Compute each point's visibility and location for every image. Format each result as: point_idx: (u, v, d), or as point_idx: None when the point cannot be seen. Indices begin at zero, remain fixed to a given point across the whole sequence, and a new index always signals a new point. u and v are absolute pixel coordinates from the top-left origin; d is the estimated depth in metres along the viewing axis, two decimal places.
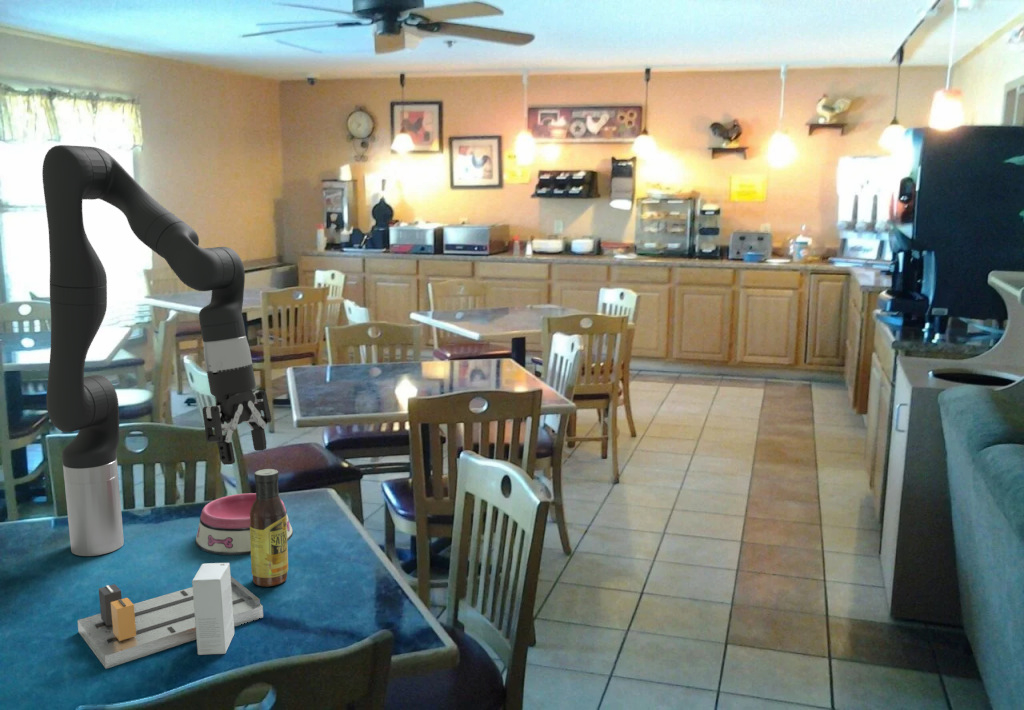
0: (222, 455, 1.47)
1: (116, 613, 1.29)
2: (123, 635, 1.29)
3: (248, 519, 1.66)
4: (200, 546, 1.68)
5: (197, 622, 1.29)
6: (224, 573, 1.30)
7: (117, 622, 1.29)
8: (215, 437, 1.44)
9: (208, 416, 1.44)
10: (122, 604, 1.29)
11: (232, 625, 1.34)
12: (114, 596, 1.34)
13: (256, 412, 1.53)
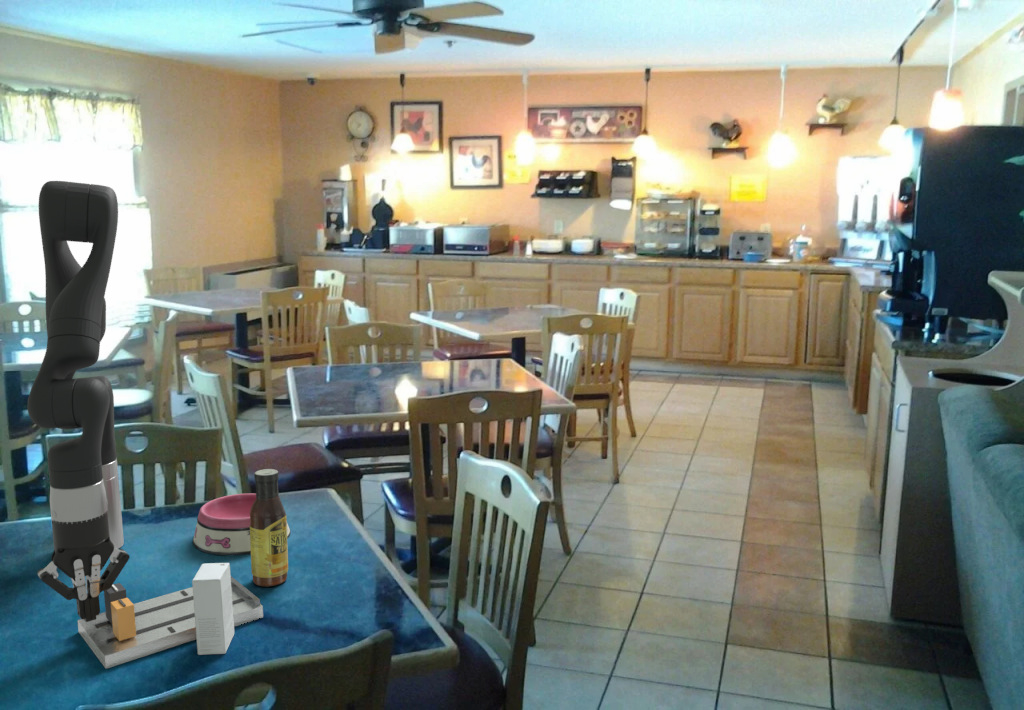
0: (78, 610, 1.32)
1: (116, 613, 1.29)
2: (123, 635, 1.29)
3: (246, 519, 1.66)
4: (197, 546, 1.68)
5: (197, 622, 1.29)
6: (224, 573, 1.30)
7: (117, 622, 1.29)
8: None
9: None
10: (122, 604, 1.29)
11: (232, 625, 1.34)
12: (119, 595, 1.34)
13: (97, 573, 1.31)
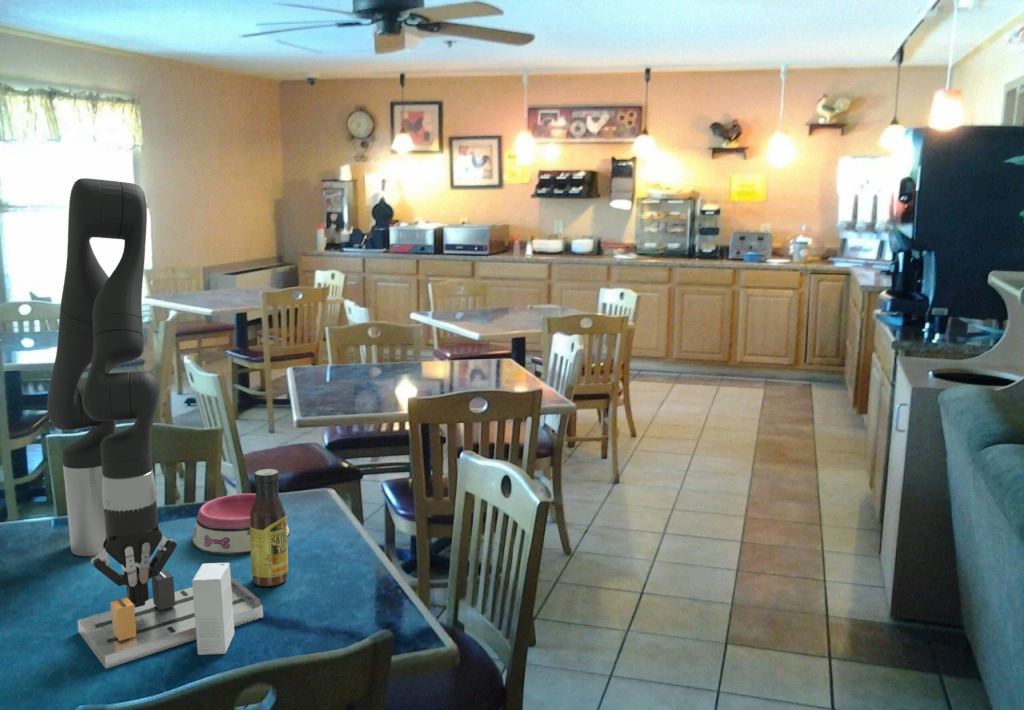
0: (128, 596, 1.37)
1: (116, 613, 1.29)
2: (123, 635, 1.29)
3: (245, 519, 1.66)
4: (197, 546, 1.68)
5: (197, 622, 1.29)
6: (224, 573, 1.30)
7: (117, 622, 1.29)
8: None
9: None
10: (122, 604, 1.29)
11: (232, 625, 1.34)
12: (166, 581, 1.39)
13: (146, 560, 1.36)
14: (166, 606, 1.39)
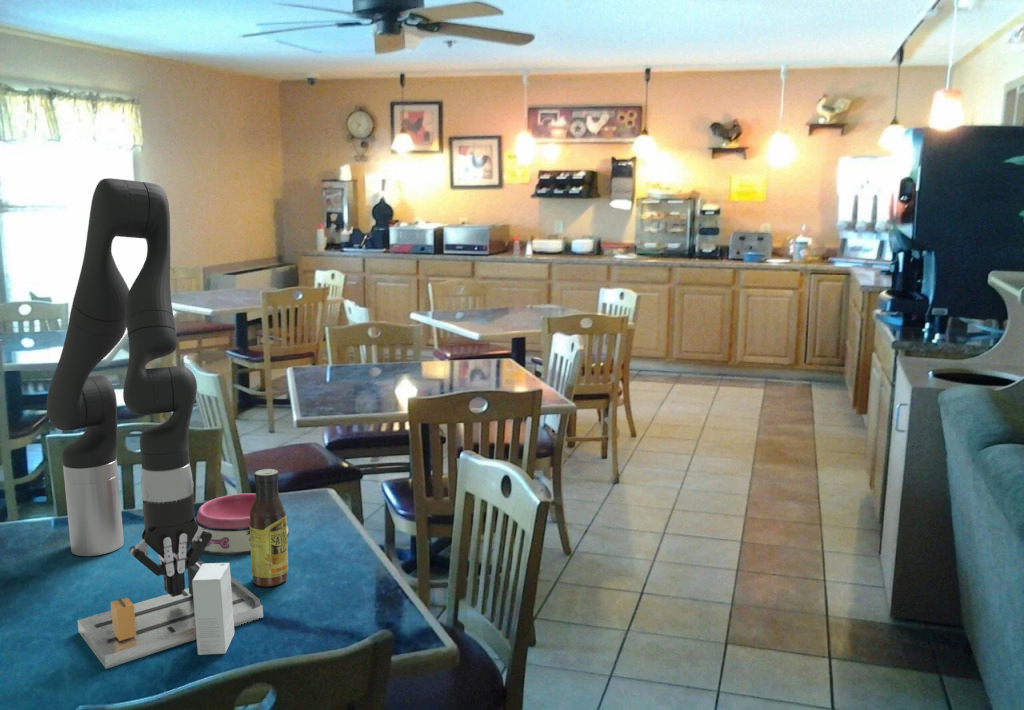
0: (165, 586, 1.40)
1: (116, 613, 1.29)
2: (123, 635, 1.29)
3: (244, 519, 1.66)
4: None
5: (197, 622, 1.29)
6: (224, 573, 1.30)
7: (117, 622, 1.29)
8: None
9: None
10: (122, 604, 1.29)
11: (232, 625, 1.34)
12: None
13: (184, 551, 1.40)
14: None
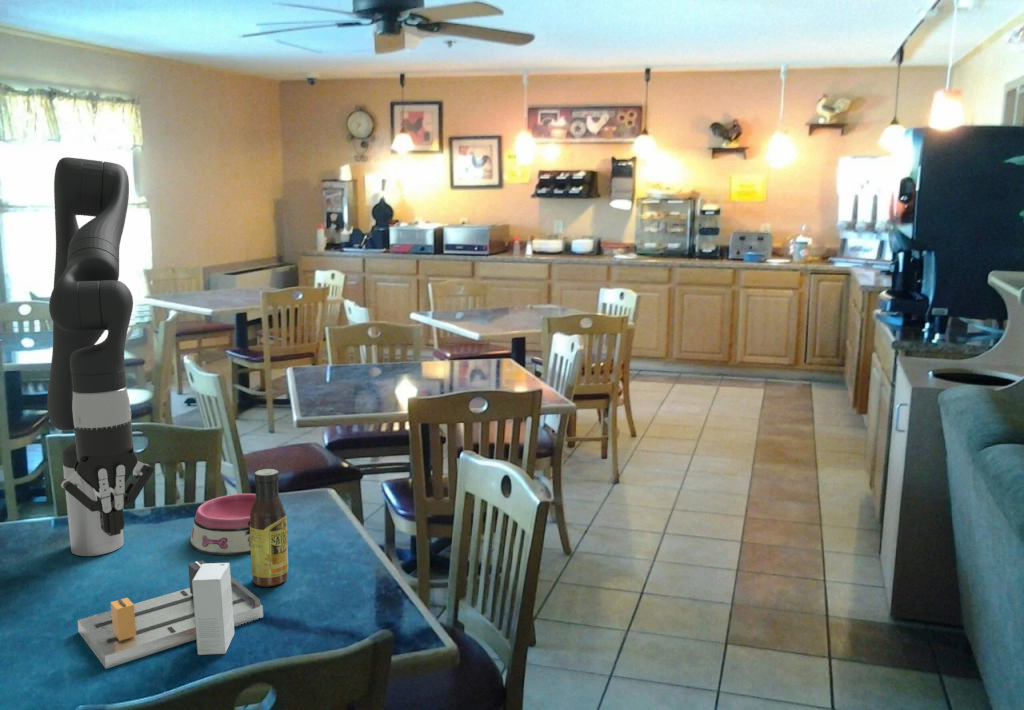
0: (102, 524, 1.28)
1: (116, 613, 1.29)
2: (123, 635, 1.29)
3: (243, 519, 1.66)
4: (194, 547, 1.68)
5: (197, 622, 1.29)
6: (224, 573, 1.30)
7: (117, 622, 1.29)
8: None
9: (68, 492, 1.24)
10: (122, 604, 1.29)
11: (232, 625, 1.34)
12: None
13: (121, 484, 1.27)
14: None
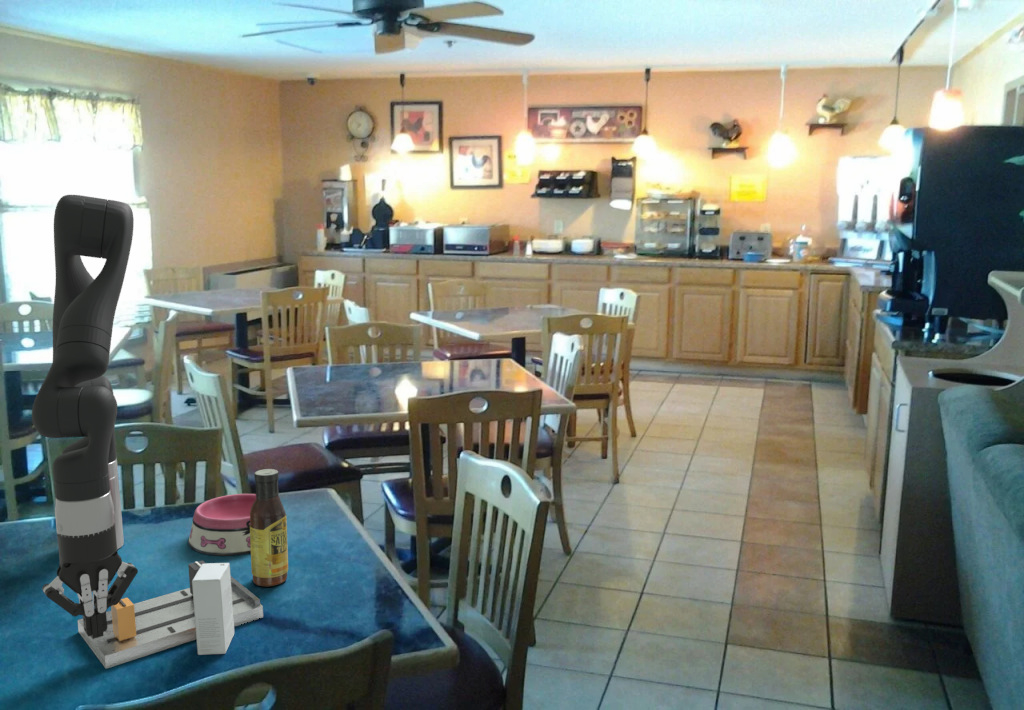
0: (85, 627, 1.27)
1: (116, 613, 1.29)
2: (123, 635, 1.29)
3: (241, 520, 1.66)
4: (193, 547, 1.68)
5: (197, 622, 1.29)
6: (224, 573, 1.30)
7: (117, 622, 1.29)
8: None
9: None
10: (122, 604, 1.29)
11: (232, 625, 1.34)
12: None
13: (104, 588, 1.27)
14: None
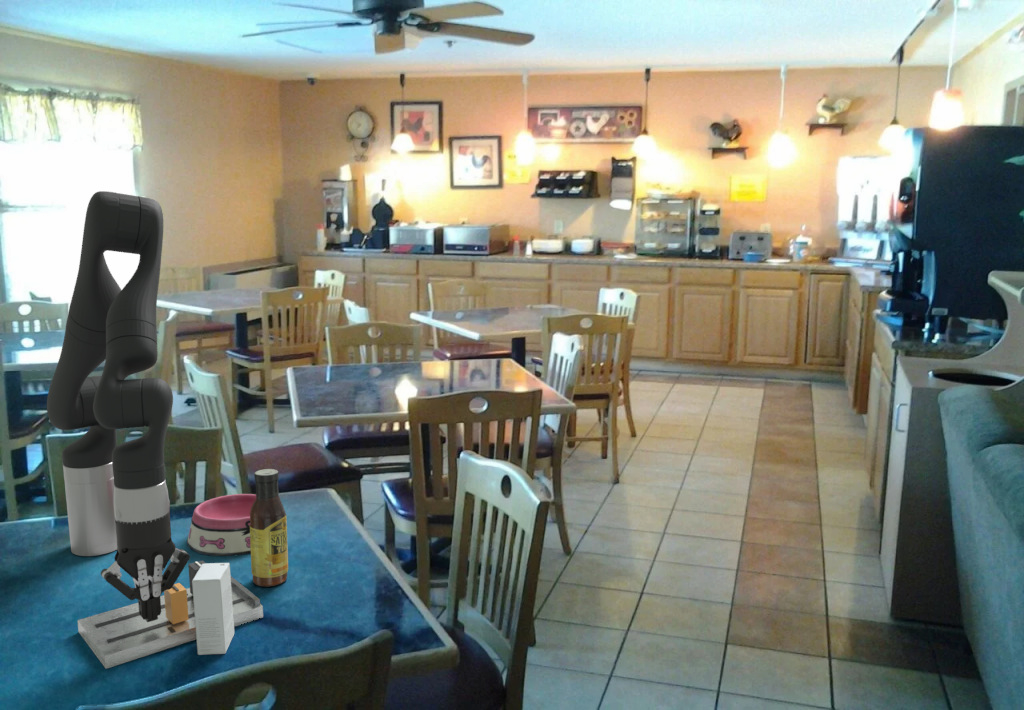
0: (140, 610, 1.32)
1: (170, 597, 1.34)
2: (176, 619, 1.34)
3: (240, 520, 1.66)
4: (192, 547, 1.68)
5: (197, 622, 1.29)
6: (224, 573, 1.30)
7: (171, 606, 1.34)
8: None
9: None
10: (175, 589, 1.34)
11: (232, 625, 1.34)
12: None
13: (159, 573, 1.31)
14: None
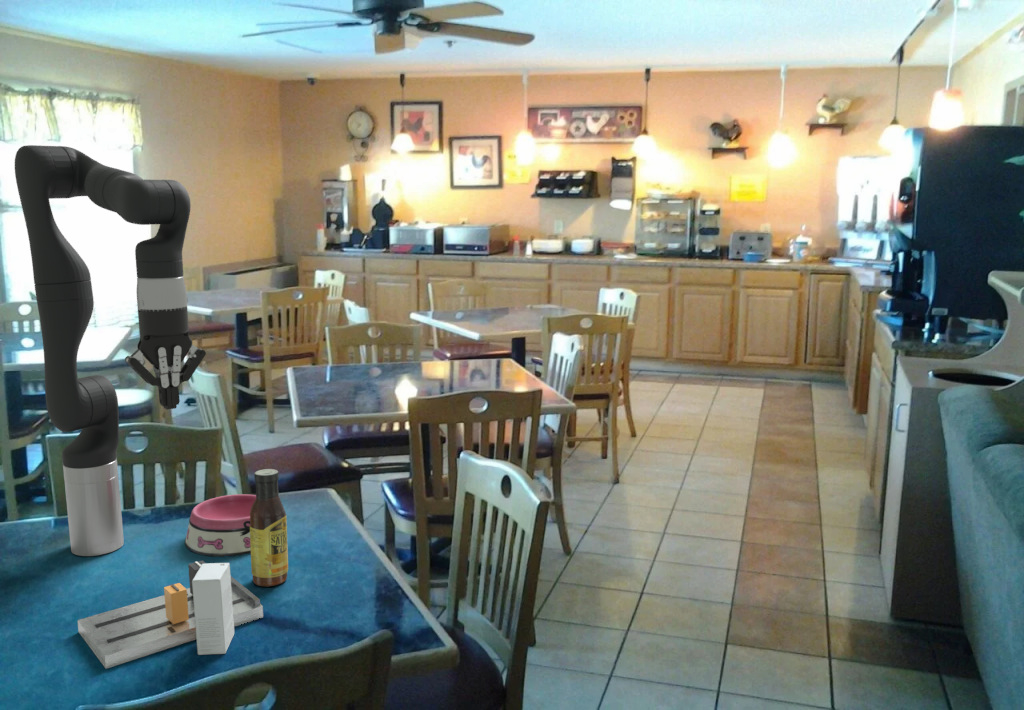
0: (160, 398, 1.45)
1: (170, 597, 1.34)
2: (176, 619, 1.34)
3: (238, 520, 1.66)
4: (190, 548, 1.67)
5: (197, 622, 1.29)
6: (224, 573, 1.30)
7: (171, 606, 1.34)
8: None
9: (132, 367, 1.41)
10: (175, 589, 1.34)
11: (232, 625, 1.34)
12: None
13: (178, 363, 1.44)
14: None
